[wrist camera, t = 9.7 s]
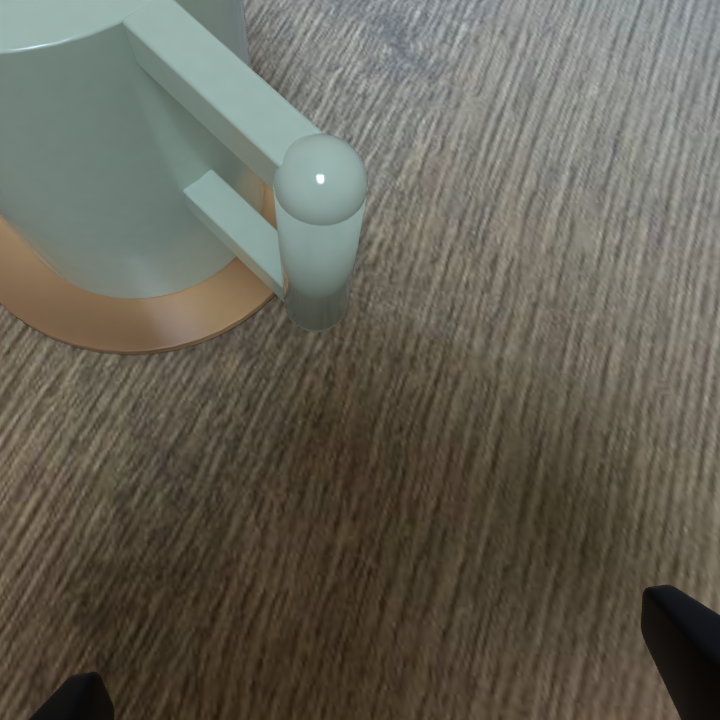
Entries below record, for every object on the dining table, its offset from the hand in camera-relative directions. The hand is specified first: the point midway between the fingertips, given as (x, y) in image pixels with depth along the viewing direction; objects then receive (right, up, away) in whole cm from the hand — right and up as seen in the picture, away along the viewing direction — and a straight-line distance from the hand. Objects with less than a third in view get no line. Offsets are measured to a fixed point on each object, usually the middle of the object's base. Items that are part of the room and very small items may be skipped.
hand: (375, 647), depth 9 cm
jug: (-6, +9, +10) cm, 15 cm away
